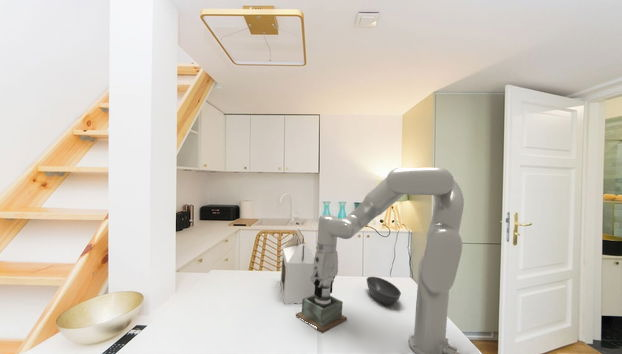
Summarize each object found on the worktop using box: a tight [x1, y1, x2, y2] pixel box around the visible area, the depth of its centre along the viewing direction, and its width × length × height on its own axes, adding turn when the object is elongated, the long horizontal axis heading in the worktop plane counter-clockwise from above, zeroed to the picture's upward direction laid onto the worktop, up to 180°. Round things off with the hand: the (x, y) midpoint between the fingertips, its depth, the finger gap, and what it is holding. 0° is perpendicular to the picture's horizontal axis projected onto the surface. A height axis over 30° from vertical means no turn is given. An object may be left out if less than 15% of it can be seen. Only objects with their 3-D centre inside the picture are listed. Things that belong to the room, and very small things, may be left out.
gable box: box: [280, 229, 315, 305], centre depth 124 cm, size 22×13×28 cm, turn 11°
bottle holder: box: [295, 295, 348, 334], centre depth 103 cm, size 14×14×7 cm
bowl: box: [366, 276, 402, 308], centre depth 123 cm, size 12×22×6 cm, turn 14°
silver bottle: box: [314, 272, 332, 308], centre depth 103 cm, size 6×7×20 cm
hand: (323, 293), depth 103 cm, fingers closed on silver bottle, 5 cm apart
